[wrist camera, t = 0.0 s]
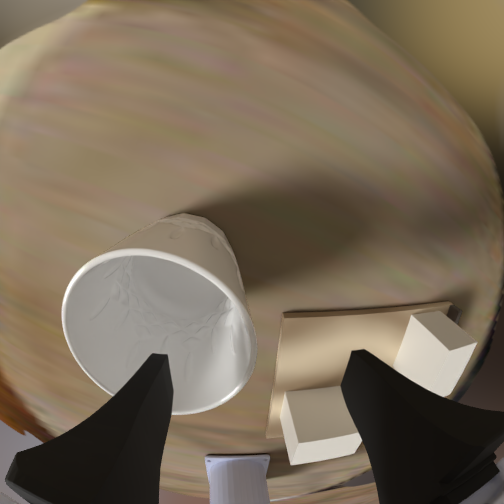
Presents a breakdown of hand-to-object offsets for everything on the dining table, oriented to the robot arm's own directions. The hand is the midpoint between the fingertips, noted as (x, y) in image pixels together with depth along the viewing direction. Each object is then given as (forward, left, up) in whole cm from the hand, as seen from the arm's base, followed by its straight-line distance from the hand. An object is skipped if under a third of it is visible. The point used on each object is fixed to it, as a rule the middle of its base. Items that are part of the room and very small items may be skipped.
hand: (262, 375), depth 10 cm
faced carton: (-6, -17, -9) cm, 20 cm away
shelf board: (-11, -12, -10) cm, 19 cm away
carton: (-13, -7, -9) cm, 17 cm away
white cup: (+1, +4, -10) cm, 11 cm away
